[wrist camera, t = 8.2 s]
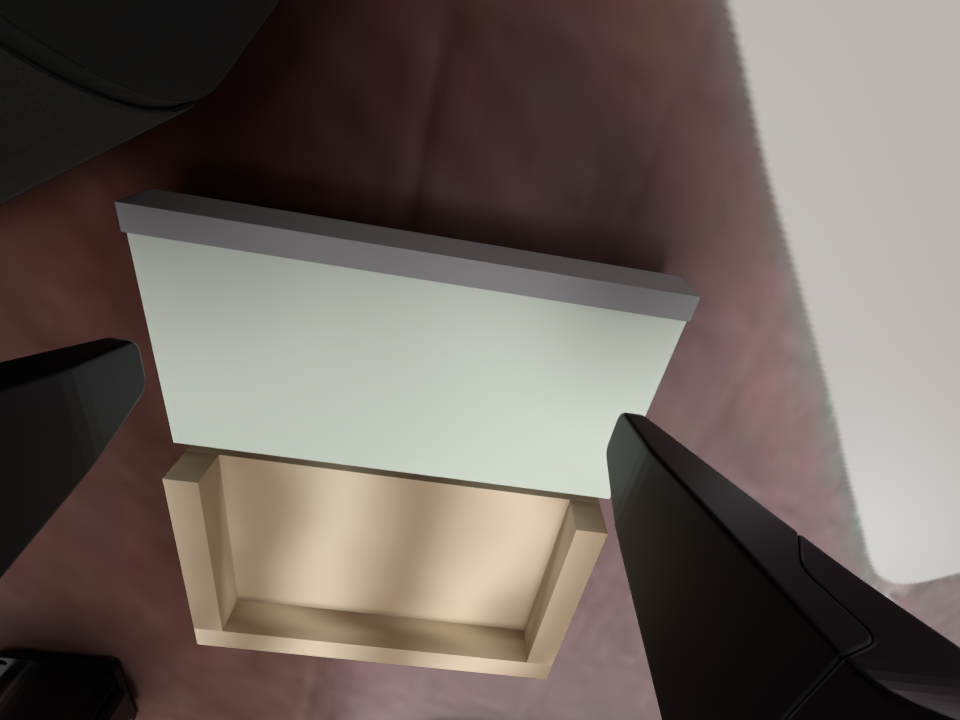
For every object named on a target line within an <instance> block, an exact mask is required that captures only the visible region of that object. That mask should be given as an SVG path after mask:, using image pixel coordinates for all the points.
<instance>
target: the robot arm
mask: <svg viewBox="0 0 960 720" xmlns="http://www.w3.org/2000/svg"><path fill="white" fill-rule="evenodd" d="M145 385H146V379H145V374H144V369H143V364H142V359H141V355H140V350H139V347H138V345H137V344H136V343H135V342H133V341H130V340H124V339H117V338H104V339H100V340H96V341H91V342H87V343H83V344H78V345H74V346H70V347H65V348H61V349H57V350H52V351H48V352H43V353H39V354H35V355H30V356H26V357H22V358H17V359H13V360H9V361H4V362H0V578H1V577H2V576H3V575H4V574H5V572H6V571H7V570H8V569H9V568H10V566H11V565H12V564H13V563H14V562H15V560H16V559H17V558H18V557H19V556H20V554H21V553H22V552H23V551H24V550H25V548H26V547H27V546H28V545H29V543H30V542H31V541H32V540H33V539H34V537H35V536H36V535H37V534H38V533H39V531H40V530H41V529H42V528H43V527H44V525H45V524H46V523H47V522H48V521H49V519H50V518H51V517H52V516H53V515H54V513H55V512H56V511H57V510H58V509H59V507H60V506H61V505H62V504H63V503H64V501H65V500H66V499H67V498H68V496H69V495H70V494H71V493H72V492H73V490H74V489H75V488H76V487H77V486H78V484H79V483H80V482H81V481H82V480H83V478H84V477H85V476H86V475H87V474H88V472H89V471H90V470H91V469H92V467H93V466H94V465H95V463H96V462H97V461H98V460H99V458H100V457H101V455H102V454H103V452H104V451H105V450H106V448H107V447H108V445H109V444H110V442H111V441H112V439H113V438H114V436H115V435H116V433H117V432H118V430H119V429H120V427H121V426H122V424H123V423H124V421H125V420H126V418H127V417H128V415H129V414H130V412H131V411H132V409H133V408H134V406H135V404H136V403H137V401H138V400H139V398H140V397H141V395H142V394H143V392H144V389H145ZM606 458H607V467H608V475H609V483H610V491H611V499H612V507H613V515H614V522H615V528H616V533H617V537H618V541H619V546H620V550H621V554H622V558H623V562H624V566H625V570H626V574H627V578H628V582H629V586H630V590H631V595H632V599H633V603H634V607H635V611H636V615H637V619H638V623H639V627H640V631H641V635H642V640H643V644H644V648H645V652H646V656H647V660H648V664H649V668H650V672H651V676H652V680H653V685H654V689H655V693H656V697H657V701H658V705H659V709H660V713H661V717H662V720H960V647H958V646H957V645H955V644H954V643H952V642H951V641H950V640H948V639H947V638H945V637H944V636H942V635H941V634H939V633H938V632H936V631H935V630H933V629H932V628H931V627H929V626H928V625H926V624H925V623H923V622H922V621H920V620H919V619H917V618H916V617H914V616H913V615H912V614H910V613H909V612H907V611H906V610H904V609H903V608H901V607H900V606H898V605H897V604H895V603H894V602H893V601H891V600H890V599H888V598H887V597H885V596H884V595H883V594H881V593H880V592H878V591H877V590H875V589H874V588H873V587H871V586H870V585H868V584H867V583H865V582H864V581H863V580H861V579H860V578H858V577H857V576H855V575H854V574H853V573H851V572H850V571H849V570H847V569H846V568H845V567H843V566H842V565H841V564H839V563H838V562H836V561H835V560H834V559H832V558H831V557H830V556H828V555H827V554H826V553H824V552H823V551H822V550H820V549H819V548H818V547H816V546H815V545H814V544H812V543H811V542H810V541H808V540H807V539H806V538H805V537H803V536H802V535H799V536H798V534H797V532H796V531H795V530H794V529H793V528H791V527H790V526H789V525H787V524H786V523H785V522H783V521H782V520H781V519H779V518H778V517H777V516H775V515H774V514H773V513H771V512H770V511H769V510H767V509H766V508H765V507H763V506H762V505H761V504H760V503H758V502H757V501H756V500H754V499H753V498H752V497H750V496H749V495H748V494H746V493H745V492H744V491H742V490H741V489H740V488H738V487H737V486H736V485H734V484H733V483H732V482H730V481H729V480H728V479H727V478H725V477H724V476H723V475H721V474H720V473H719V472H717V471H716V470H715V469H713V468H712V467H711V466H709V465H708V464H707V463H705V462H704V461H703V460H701V459H700V458H699V457H698V456H696V455H695V454H694V453H692V452H691V451H690V450H688V449H687V448H686V447H684V446H683V445H682V444H680V443H679V442H678V441H676V440H675V439H674V438H673V437H671V436H670V435H669V434H667V433H666V432H665V431H663V430H662V429H661V428H659V427H658V426H657V425H655V424H654V423H653V422H651V421H650V420H649V419H647V418H646V417H645V416H643V415H640V414H633V413H622V414H620V416H619V417H618V419H617V422H616V424H615V427H614V430H613V432H612V435H611V438H610V440H609V443H608V446H607V452H606ZM0 675H1V676H0V720H135V718H136V716H137V714H136V711H135V708H134V705H133V702H132V700H131V697H130V694H129V691H128V689H127V686H126V683H125V680H124V678H123V675H122V672H121V669H120V667H119V665H118V664H117V663H116V662H114V661H111V660H103V659H92V658H82V657H72V656H61V655H51V654H41V653H30V652H20V651H10V650H1V651H0Z"/></svg>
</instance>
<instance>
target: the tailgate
mask: <svg viewBox="0 0 960 720" xmlns="http://www.w3.org/2000/svg"><path fill="white" fill-rule="evenodd" d="M115 207H116V211H117V215H118V220H119V224H120V229H121V232H126V233H127V236H128V241H129V245H130V250H131V254H132V259H133V263H134V268H135V272H136V276H137V281H138V285H139V290H140V294H141V299H142V303H143V308H144V312H145V317H146V321H147V326H148V330H149V335H150V339H151V344H152V348H153V353H154V357H155V362H156V366H157V371H158V375H159V380H160V384H161V389H162V393H163V398H164V402H165V407H166V411H167V416H168V420H169V425H170V429H171V434H172V438H173V443H181V444H189V445H196V446H204V447H212V448H219V449H227V450H235V451H243V452H250V453H258V454H266V455H274V456H281V457H289V458H297V459H304V460H312V461H320V462H328V463H335V464H343V465H351V466H359V467H366V468H374V469H382V470H390V471H397V472H405V473H413V474H420V475H428V476H436V477H444V478H451V479H459V480H467V481H475V482H482V483H490V484H498V485H505V486H513V487H521V488H529V489H536V490H544V491H552V492H560V493H567V494H575V495H583V496H590V497H598V498H606V499H609V498H610V496H611V491H610V483H609V475H608V467H607V458H606V452H607V446H608V443H609V440H610V438H611V435H612V432H613V430H614V427H615V424H616V422H617V419H618V417H619V416H620V414H622V413H633V414H640V415H643V416H645V415H646V413H647V411H648V409H649V406H650V404H651V402H652V399H653V397H654V395H655V393H656V390H657V388H658V386H659V383H660V381H661V379H662V376H663V374H664V372H665V370H666V367H667V365H668V363H669V360H670V358H671V356H672V353H673V351H674V349H675V347H676V344H677V342H678V340H679V337H680V335H681V333H682V330H683V328H684V326H685V324H686V322H690V321H691V318H692V316H693V314H694V312H695V309H696V307H697V305H698V303H699V300H700V298H701V297H700V296H699V295H698V294H697V293H696V292H695V291H694V289H693V288H692V287H691V286H690V285H689V284H688V283H687V282H686V281H685V280H684V279H683V278H682V277H681V276H676V275H670V274H664V273H658V272H652V271H646V270H640V269H633V268H627V267H621V266H615V265H609V264H603V263H597V262H591V261H585V260H579V259H573V258H567V257H561V256H555V255H549V254H543V253H537V252H531V251H525V250H519V249H513V248H507V247H501V246H495V245H489V244H483V243H477V242H471V241H465V240H459V239H453V238H447V237H441V236H435V235H429V234H423V233H417V232H410V231H404V230H398V229H392V228H386V227H380V226H374V225H368V224H362V223H356V222H350V221H344V220H338V219H332V218H326V217H320V216H314V215H308V214H302V213H296V212H290V211H284V210H278V209H272V208H266V207H260V206H254V205H248V204H242V203H236V202H230V201H224V200H218V199H212V198H206V197H200V196H194V195H187V194H181V193H175V192H169V191H163V190H157V189H149V190H146V191H143V192H140V193H137V194H134V195H132V196H129V197H126V198H123V199H120V200H118V201H115Z"/></svg>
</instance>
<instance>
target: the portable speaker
mask: <svg viewBox="0 0 960 720" xmlns="http://www.w3.org/2000/svg"><path fill="white" fill-rule="evenodd" d="M278 2H279V0H0V204H2V203H4V202H6V201H8V200H10V199H12V198H14V197H16V196H18V195H20V194H22V193H24V192H26V191H28V190H30V189H32V188H34V187H36V186H38V185H40V184H42V183H44V182H46V181H48V180H50V179H52V178H54V177H56V176H58V175H60V174H62V173H64V172H66V171H68V170H70V169H72V168H74V167H76V166H78V165H80V164H82V163H84V162H86V161H88V160H90V159H92V158H94V157H96V156H98V155H100V154H102V153H104V152H106V151H108V150H110V149H112V148H114V147H116V146H118V145H120V144H122V143H124V142H126V141H128V140H130V139H132V138H134V137H136V136H138V135H140V134H142V133H144V132H146V131H148V130H150V129H152V128H154V127H155V126H157V125H159V124H161V123H163V122H165V121H167V120H169V119H171V118H173V117H175V116H177V115H179V114H181V113H183V112H185V111H187V110H189V109H191V108H192V107H193V106H194V105H195V104H196V103H197V102H198V101H199V100H200V99H202V98H204V97H205V96H207V95H208V94H210V93H211V92H213V91H214V90H215V89H216V87H217V86H218V85H219V84H220V82H221V81H222V80H223V79H224V77H225V76H226V75H227V73H228V72H229V70H230V69H231V68H232V66H233V65H234V63H235V62H236V61H237V59H238V58H239V56H240V55H241V54H242V52H243V51H244V49H245V48H246V47H247V45H248V44H249V42H250V41H251V40H252V38H253V37H254V35H255V34H256V33H257V31H258V30H259V28H260V27H261V26H262V24H263V23H264V21H265V20H266V19H267V17H268V16H269V14H270V13H271V12H272V10H273V9H274V7H275V6H276V5H277V3H278Z"/></svg>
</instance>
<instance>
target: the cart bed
mask: <svg viewBox="0 0 960 720" xmlns="http://www.w3.org/2000/svg"><path fill="white" fill-rule="evenodd" d="M163 484H164V488H165V493H166V498H167V503H168V507H169V512H170V517H171V521H172V526H173V531H174V536H175V540H176V545H177V550H178V555H179V559H180V564H181V569H182V574H183V578H184V583H185V588H186V592H187V597H188V602H189V607H190V611H191V616H192V621H193V626H194V630H195V635H196V640H197V644H200V645H210V646H220V647H230V648H240V649H250V650H260V651H270V652H280V653H290V654H300V655H310V656H320V657H330V658H339V659H349V660H359V661H369V662H379V663H389V664H399V665H409V666H419V667H429V668H439V669H449V670H459V671H469V672H479V673H489V674H499V675H509V676H519V677H529V678H539V679H546V678H547V676H548V674H549V671H550V669H551V667H552V664H553V662H554V659H555V657H556V655H557V652H558V650H559V648H560V645H561V643H562V641H563V638H564V636H565V634H566V631H567V629H568V627H569V624H570V622H571V619H572V617H573V615H574V612H575V610H576V608H577V605H578V603H579V601H580V598H581V596H582V594H583V591H584V589H585V586H586V584H587V582H588V579H589V577H590V575H591V572H592V570H593V568H594V565H595V563H596V561H597V558H598V556H599V553H600V551H601V549H602V546H603V544H604V542H605V539H606V537H607V535H608V533H607V529H606V526H605V522H604V519H603V515H602V511H601V508H600V504H599V501H598V497H590V496H583V495H575V494H567V493H560V492H552V491H544V490H536V489H529V488H521V487H513V486H505V485H498V484H490V483H482V482H475V481H467V480H459V479H451V478H444V477H436V476H428V475H420V474H413V473H405V472H397V471H390V470H382V469H374V468H366V467H359V466H351V465H343V464H335V463H328V462H320V461H312V460H304V459H297V458H289V457H281V456H274V455H266V454H258V453H250V452H243V451H235V450H227V449H219V448H212V447H204V446H196V445H190V446H189V448H188V449H187V450H186V451H185V452H184V454H183V455H182V456H181V457H180V458H179V460H178V461H177V462H176V463H175V464H174V465H173V467H172V468H171V469H170V470H169V471H168V473H167V474H166V475H165V476H164V477H163Z"/></svg>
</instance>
